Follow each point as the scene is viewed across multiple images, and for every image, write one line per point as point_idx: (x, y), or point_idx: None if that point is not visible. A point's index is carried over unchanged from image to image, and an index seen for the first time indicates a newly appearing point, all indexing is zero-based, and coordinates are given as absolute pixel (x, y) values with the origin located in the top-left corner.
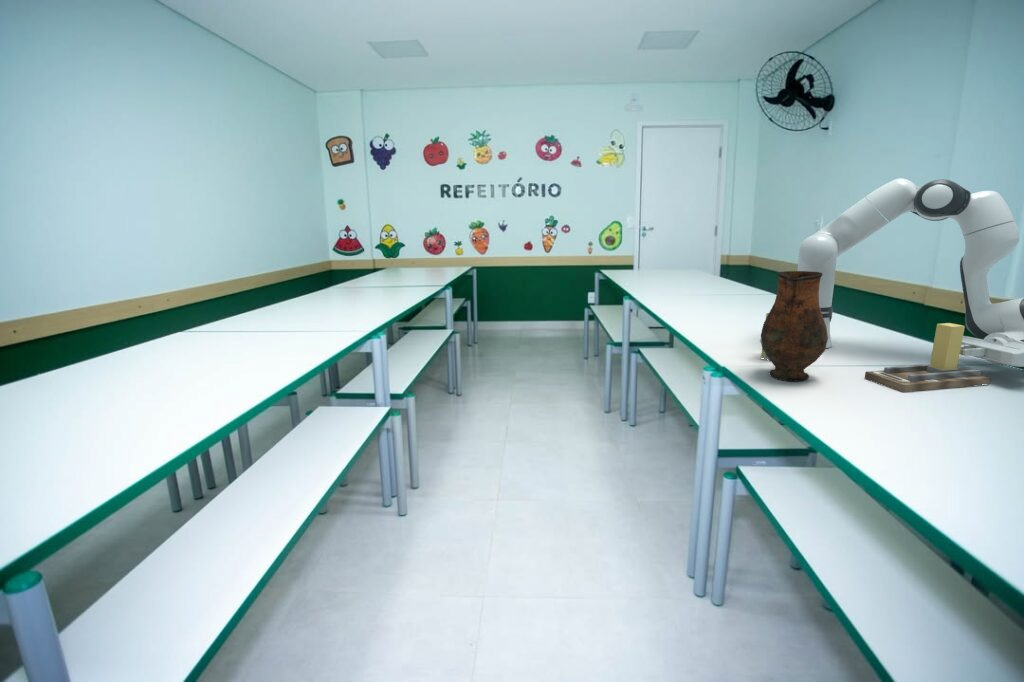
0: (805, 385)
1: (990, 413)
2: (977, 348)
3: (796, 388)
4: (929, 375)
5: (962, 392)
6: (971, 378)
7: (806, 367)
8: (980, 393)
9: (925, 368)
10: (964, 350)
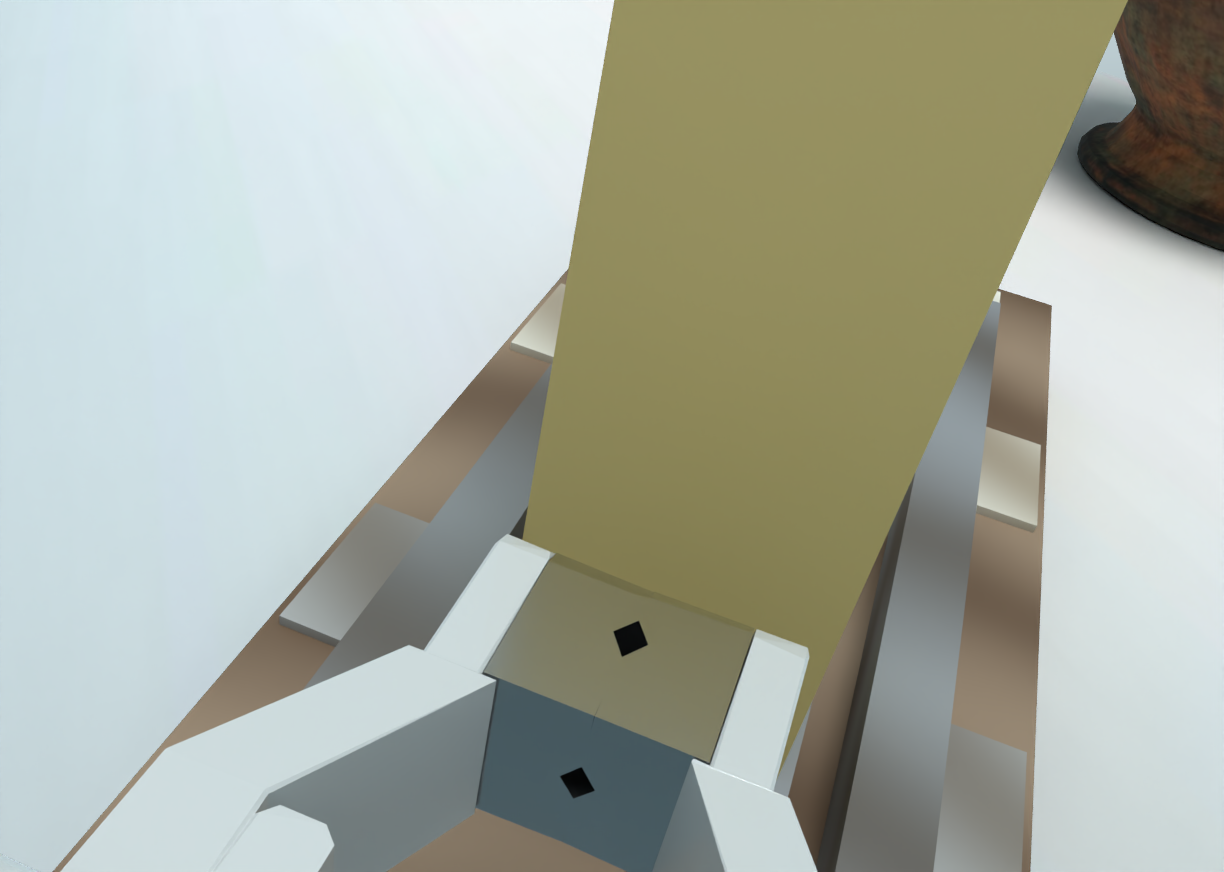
0: None
1: (42, 153)
2: (285, 818)
3: None
4: None
5: (284, 457)
6: (249, 702)
7: (1155, 106)
8: (108, 530)
9: (870, 646)
10: (537, 554)
